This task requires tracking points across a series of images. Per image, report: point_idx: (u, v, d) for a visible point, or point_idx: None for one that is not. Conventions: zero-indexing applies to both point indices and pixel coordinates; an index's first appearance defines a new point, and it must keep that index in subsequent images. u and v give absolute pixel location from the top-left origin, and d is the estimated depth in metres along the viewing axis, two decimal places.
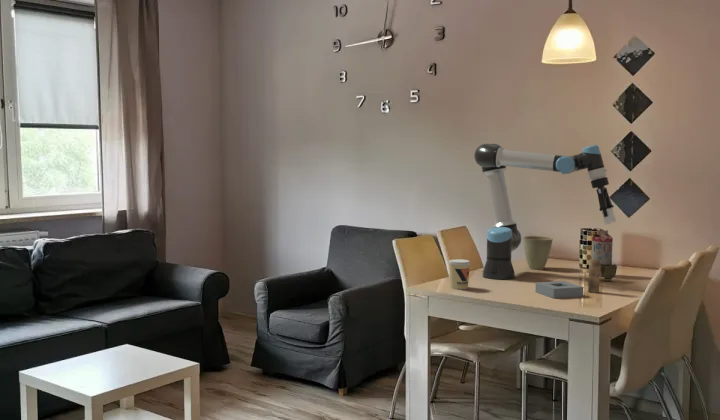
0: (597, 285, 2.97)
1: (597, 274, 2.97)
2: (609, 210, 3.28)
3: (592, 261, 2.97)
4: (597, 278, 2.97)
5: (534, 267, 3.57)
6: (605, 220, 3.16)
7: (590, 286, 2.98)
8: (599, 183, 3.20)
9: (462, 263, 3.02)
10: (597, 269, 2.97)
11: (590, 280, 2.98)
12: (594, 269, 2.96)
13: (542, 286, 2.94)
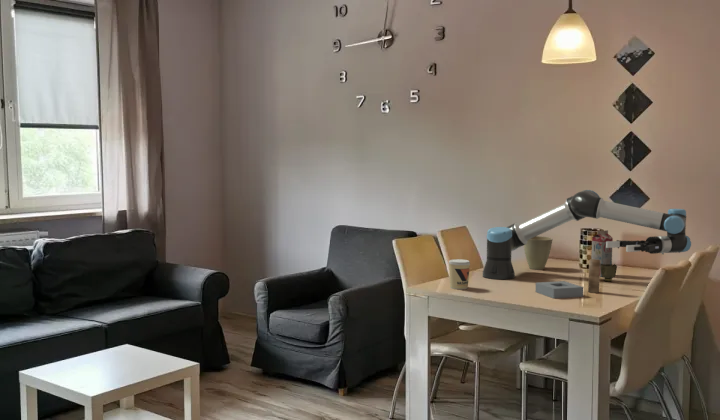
0: (597, 285, 2.97)
1: (597, 274, 2.97)
2: (617, 244, 3.09)
3: (592, 261, 2.97)
4: (597, 278, 2.97)
5: (534, 267, 3.57)
6: (631, 246, 2.94)
7: (590, 286, 2.98)
8: (658, 247, 3.03)
9: (462, 263, 3.02)
10: (597, 269, 2.97)
11: (590, 280, 2.98)
12: (594, 269, 2.96)
13: (542, 286, 2.94)
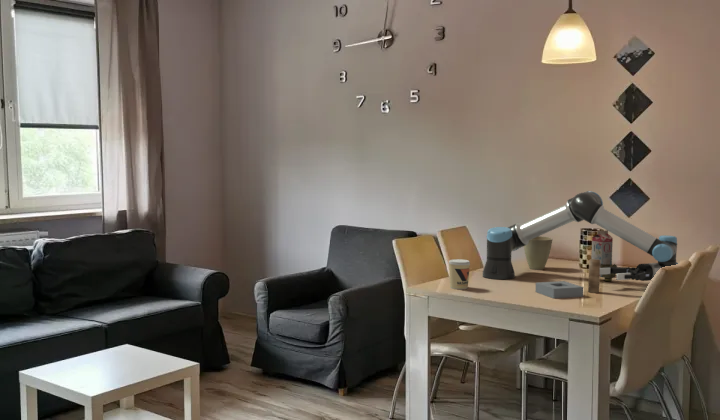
0: (597, 285, 2.97)
1: (597, 274, 2.97)
2: (608, 271, 3.08)
3: (592, 261, 2.97)
4: (597, 278, 2.97)
5: (534, 267, 3.57)
6: (621, 274, 2.94)
7: (590, 286, 2.98)
8: (649, 274, 3.02)
9: (462, 263, 3.02)
10: (597, 269, 2.97)
11: (590, 280, 2.98)
12: (594, 269, 2.96)
13: (542, 286, 2.94)
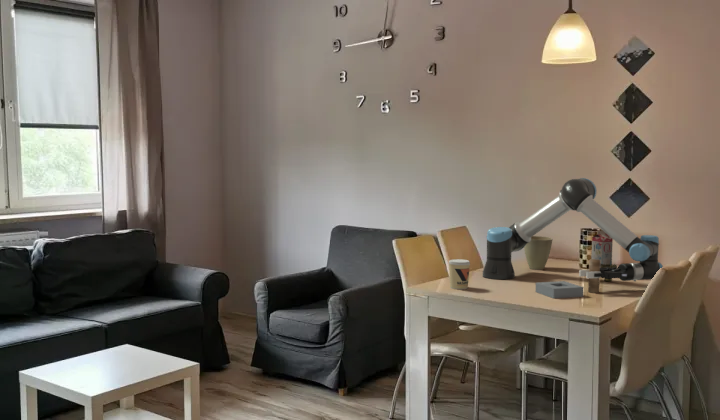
0: (597, 285, 2.97)
1: None
2: None
3: (592, 261, 2.97)
4: (597, 278, 2.97)
5: (534, 267, 3.57)
6: (591, 273, 2.95)
7: (590, 286, 2.98)
8: (630, 274, 3.00)
9: (462, 263, 3.02)
10: (597, 269, 2.97)
11: (590, 280, 2.98)
12: (594, 269, 2.96)
13: (542, 286, 2.94)
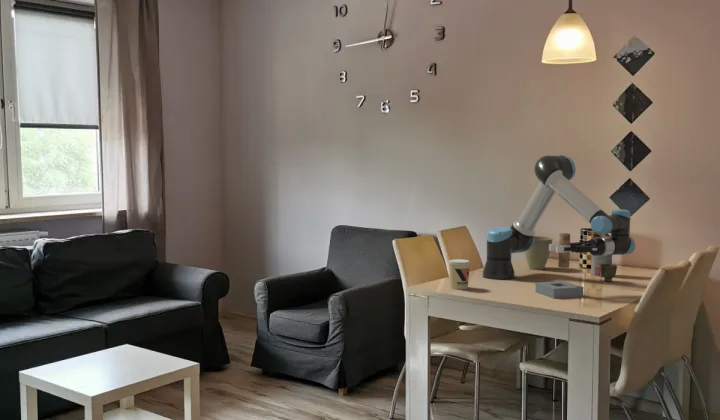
0: (567, 259, 2.92)
1: None
2: None
3: (562, 235, 2.91)
4: (567, 252, 2.91)
5: (534, 267, 3.57)
6: (560, 247, 2.89)
7: (560, 260, 2.92)
8: (601, 248, 2.94)
9: (462, 263, 3.02)
10: (567, 243, 2.91)
11: (560, 254, 2.92)
12: (564, 243, 2.91)
13: (542, 286, 2.94)
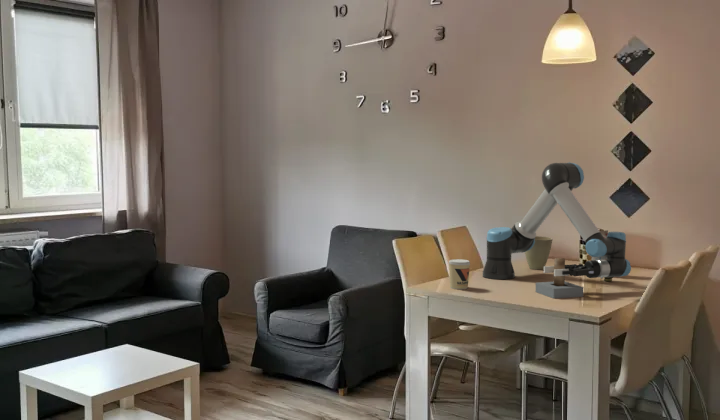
0: (562, 284, 2.92)
1: None
2: None
3: (557, 260, 2.92)
4: (562, 277, 2.92)
5: (534, 267, 3.57)
6: (558, 270, 2.89)
7: (555, 285, 2.93)
8: (596, 271, 2.95)
9: (462, 263, 3.02)
10: (562, 268, 2.92)
11: (555, 279, 2.93)
12: (559, 268, 2.92)
13: (542, 286, 2.94)
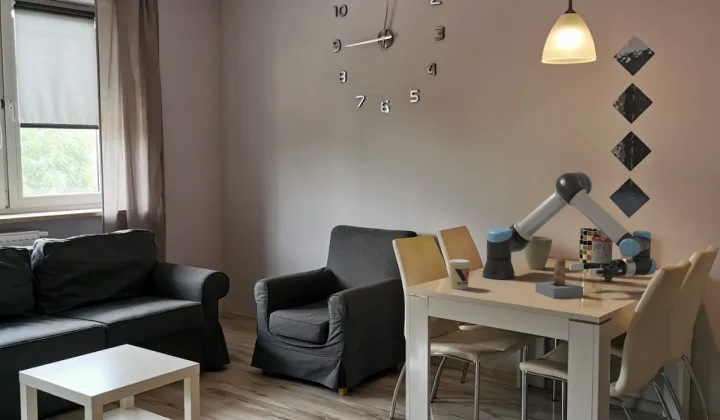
0: (562, 285, 2.92)
1: (562, 273, 2.92)
2: (581, 266, 3.04)
3: (557, 260, 2.92)
4: (562, 277, 2.92)
5: (534, 267, 3.57)
6: (593, 270, 2.90)
7: None
8: (622, 270, 2.98)
9: (462, 263, 3.02)
10: (562, 268, 2.92)
11: (555, 279, 2.93)
12: (559, 269, 2.92)
13: (542, 286, 2.94)
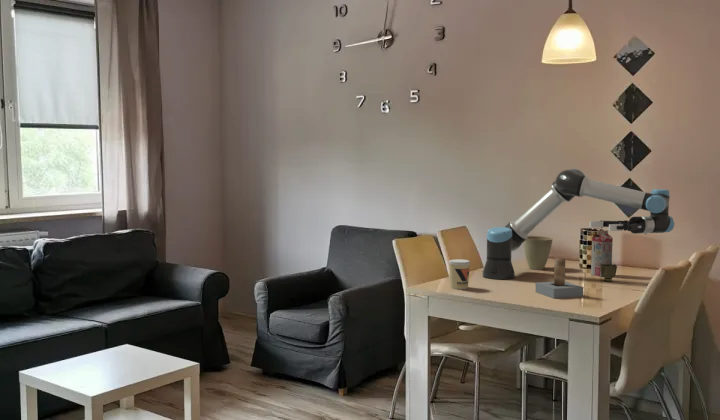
0: (562, 285, 2.92)
1: (562, 273, 2.92)
2: (601, 224, 3.10)
3: (557, 260, 2.92)
4: (562, 277, 2.92)
5: (534, 267, 3.57)
6: (613, 225, 2.96)
7: None
8: (641, 226, 3.04)
9: (462, 263, 3.02)
10: (562, 268, 2.92)
11: (555, 279, 2.93)
12: (559, 269, 2.92)
13: (542, 286, 2.94)
